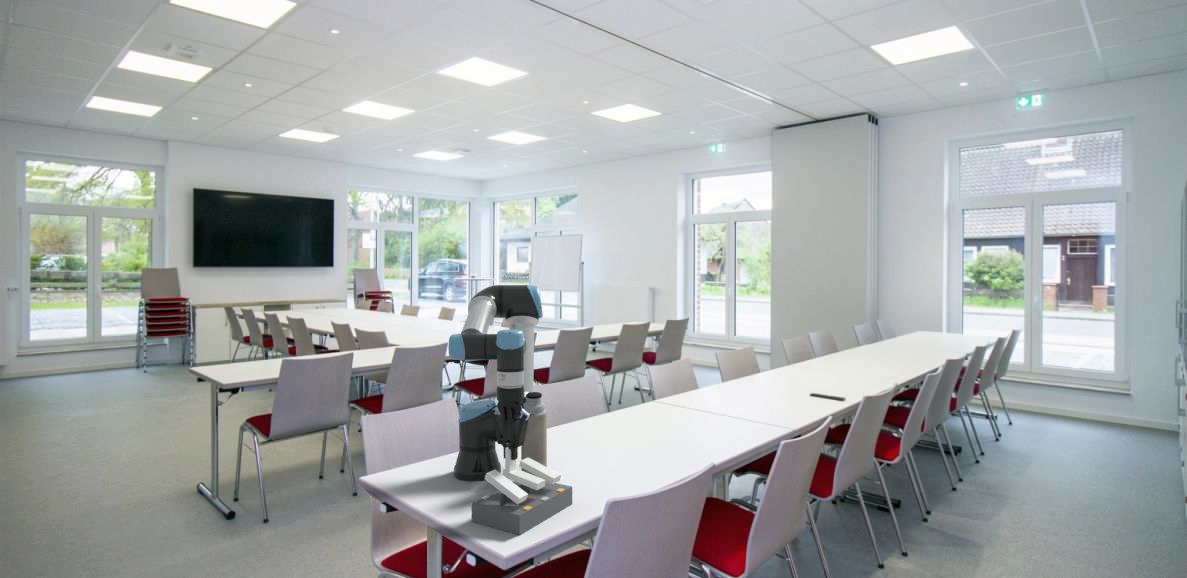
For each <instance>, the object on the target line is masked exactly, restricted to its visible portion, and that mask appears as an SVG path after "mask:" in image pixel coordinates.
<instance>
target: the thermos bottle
mask: <svg viewBox="0 0 1187 578" xmlns="http://www.w3.org/2000/svg"><path fill="white" fill-rule="evenodd" d="M542 396H543V394H542V393H541V392H537V391H533V392H530V393H527V394H526V397H527V398H526V402H525V403H524V404H523V405H524V410H525V411H526V412H527V413H529V412H530V413H531V417H530V419H529V421H528V425H527V431H526V436H525V441H524V445H522V446H520V448H521V449H520V451H521V452H520V454H521V456H520V457H521V459H520V461H521V460H523V459H526V458H530V459H532V460H534V461H536V462H538V463H540V464H542V465H544V466H545V467H547V468H548V465H547V463H548V462H547V459H548V458H547V457H548V456H547V455H548V451H547V450H548V449H547V447H548V445H547V444H548V443H547V442H548V437H547V436H548V432H547V431H548V426H547V423H548V419H547V417H548V413H547V409H545V407H546V405H545V403H544V402H543V400H542V399H543V398H542ZM520 470H521V471H524V472H526V473H529V474H532V473H531V472H529V471H527V470H525V469H523V468H521V467H520ZM532 475H534V474H532ZM534 476H536V475H534Z"/></svg>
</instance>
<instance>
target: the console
mask: <svg viewBox="0 0 1187 578" xmlns="http://www.w3.org/2000/svg"><path fill="white" fill-rule="evenodd" d="M537 477H538V476H537ZM539 478H540V477H539ZM513 483H514V484H515V485H517V486H518V487H519V488H521V489H522V490H523V491H525V492H526V493H527V494H528V496H527V499H526V500H525V501H523V502H521V503H519V504H516V503H515V502H514V501H512V500H511V499H510V498H509V497H507V496H506V495H505V494H503V493H502V492H501V491H499V490H498V489H497V490H496V491H494V492H492V493H490V494H487V495H484V496H482V497H480V498H479V499H477V500H474V501H473V502H471V522H472V523H475V524H479V525H483V526H486V527H489V528H493V529H497V530H500V531H502V532H503V531H504V532H506V533H511V534H514V535H518V536H521V535H523V534H525V533H526V532H528V531H529V530H531V529H533V528H534V527H536V526H538V525H539V524H542V523H543V522H545V521H546V520H548V519H549V518H551V517H553V516H555V515H556V514H559V513H560V512H561V511H563V510H565V509H566V508H568V507H570V506H572V505H573V486H571V485H567V484H561V483H559V482H556V483H554V484H551V483H549V482H547V481H545V487H543V488H541V489H539V490H535V489H532V488H530V487H527V486H525V485H522V484H520V483H517V482H515V481H514V482H513Z"/></svg>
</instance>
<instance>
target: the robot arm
mask: <svg viewBox="0 0 1187 578" xmlns="http://www.w3.org/2000/svg"><path fill="white" fill-rule="evenodd" d="M467 311H468V314H467V316H466V319H465V321H464V324H463V326H462V327H463V328H462V329H461V332H460V333H455V334H451V335H450V336H449V338H448V349H447V350H448V356H449V358H450V359H451V360H453V361H454V360H455V361H458V360H459V361H462V362H463V361H484V360H485V361H487V360H488V361H492V360H493V361H496V385H497V387H496V400H497V401H498V402H497V403H496V401H495V400H494V399H493V400H492V399H483V400H478V401H473V402H469V403H466V404H464V405H463V406H461V407H460V409H459V417H458V425H459V426H458V429H459V432H458V434H459V435H458V436H459V438H458V439H459V441H458V443H459V448H458V449H459V451H458V454H457V457H456V462H455V465H454V468H453V475H454V477H455V478H456V479H459V480H461V481H468V482H470V481H473V482H475V481H486V480H485V476H486V473H488V472H490V471H493V470H495V469H496V470H497V471H498V472H499V473H501V474H502V464H501V462H500V459H499V457H498V453H497V450H496V442H497V444H498V445H501V446H502V448H503V459H505V462H504V463H505V465H504V467H505V469H504V470H505V471H508V472H511V471H513V470H516V469H517V464H516V463H517V459H518V457H519V456H518V455H519V453H518V451H519V450H518V449H519V447H520V448H521V446H522V445H524V441H525V436H526V431H527V425H528V421H529V419H530V417H531V413H530V412H529V413H527V412H526V411H525V410H524V405H523V404H524V403H525V402H526V398H527V397H526V394H527V393H530V392H534V372H535V371H534V369H535V368H534V363H535V362H534V360H535V357H534V356H535V327H536V326H537V325H538V324H539V323H540V322H539V321H540V319H542V318H543V315H544V314H543V307H542V297H541V291H540V287H539V286H538V285H536V284H535V285H533V284H531V285H529V284H496V285H491V286H487V287H485V288H483V289H482V290H480V291H478V292H476V293H475V294H474V296H472V298H471V299H470V301H469V303H468V307H467ZM493 319H505V320H504V321H505V324H506V325H507V326H508V328H509V329H499V331H497V333H488V331H489V327H490V324H491V321H492V320H493Z"/></svg>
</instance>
